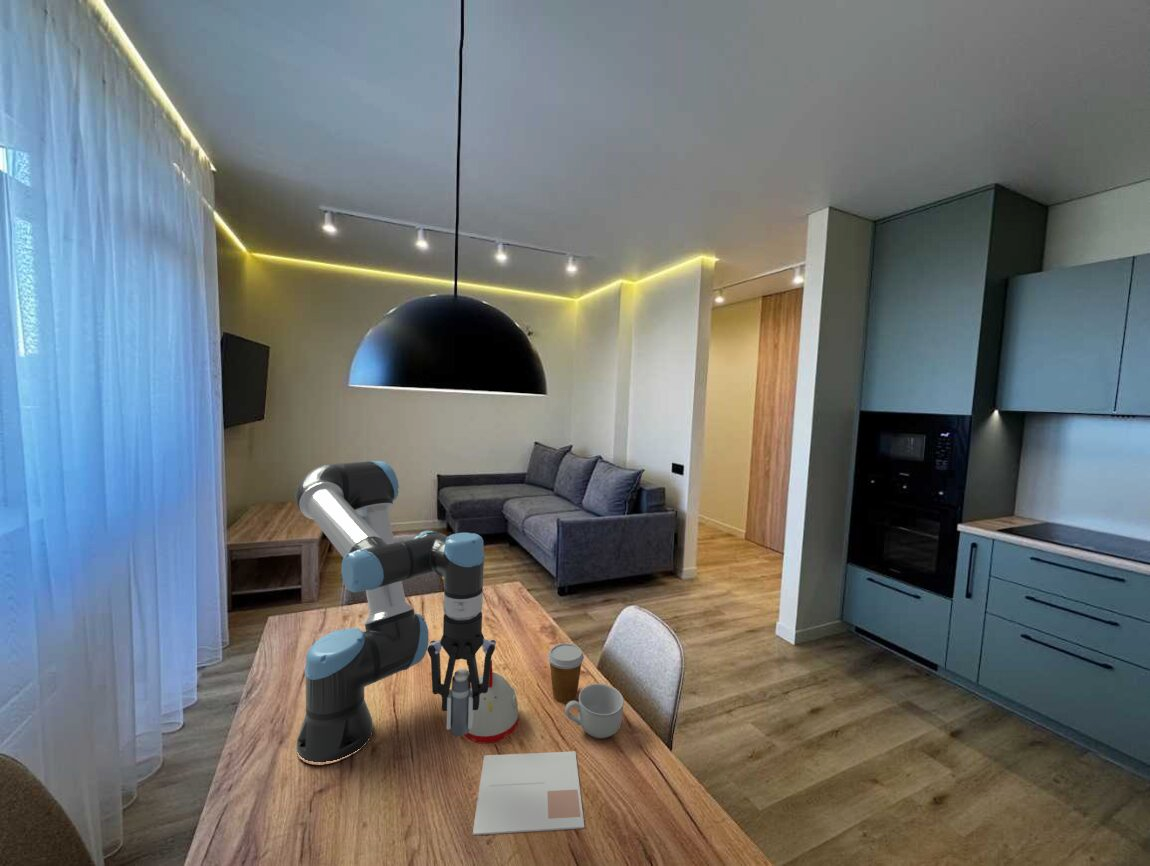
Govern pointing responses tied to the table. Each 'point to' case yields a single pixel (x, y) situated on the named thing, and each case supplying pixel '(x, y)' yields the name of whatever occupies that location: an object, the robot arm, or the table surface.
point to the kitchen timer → (494, 711)
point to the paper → (528, 793)
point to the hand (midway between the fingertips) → (460, 723)
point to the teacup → (598, 710)
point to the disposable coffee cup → (565, 671)
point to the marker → (460, 702)
